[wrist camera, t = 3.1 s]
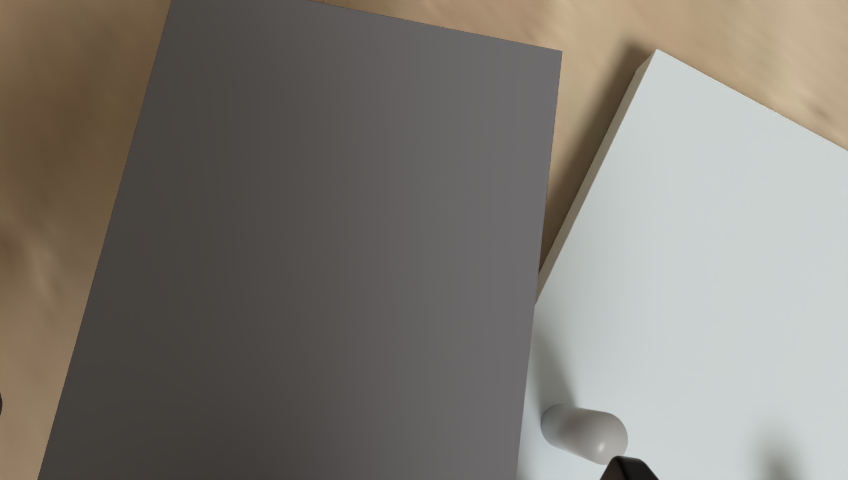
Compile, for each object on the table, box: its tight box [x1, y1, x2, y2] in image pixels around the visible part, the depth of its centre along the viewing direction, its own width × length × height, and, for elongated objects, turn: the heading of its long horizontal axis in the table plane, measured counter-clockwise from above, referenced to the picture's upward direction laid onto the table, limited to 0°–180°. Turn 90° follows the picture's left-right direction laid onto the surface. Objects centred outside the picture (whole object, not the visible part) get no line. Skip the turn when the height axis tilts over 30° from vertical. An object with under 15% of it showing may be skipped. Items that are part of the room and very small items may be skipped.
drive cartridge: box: [37, 0, 562, 480], centre depth 12 cm, size 6×4×12 cm
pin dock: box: [516, 49, 848, 480], centre depth 17 cm, size 22×12×4 cm, turn 152°
